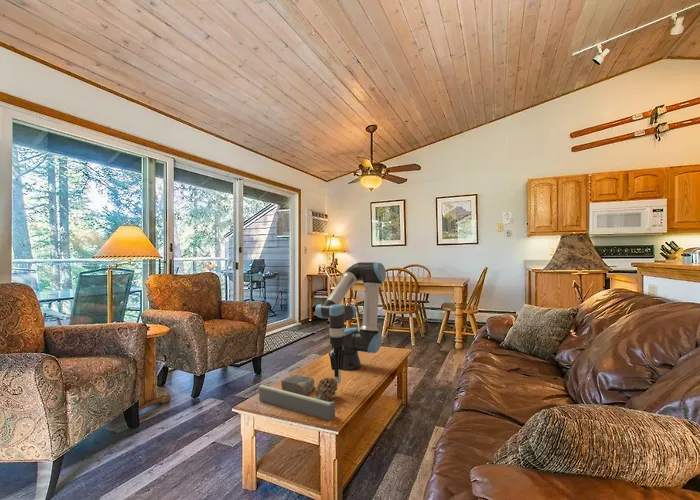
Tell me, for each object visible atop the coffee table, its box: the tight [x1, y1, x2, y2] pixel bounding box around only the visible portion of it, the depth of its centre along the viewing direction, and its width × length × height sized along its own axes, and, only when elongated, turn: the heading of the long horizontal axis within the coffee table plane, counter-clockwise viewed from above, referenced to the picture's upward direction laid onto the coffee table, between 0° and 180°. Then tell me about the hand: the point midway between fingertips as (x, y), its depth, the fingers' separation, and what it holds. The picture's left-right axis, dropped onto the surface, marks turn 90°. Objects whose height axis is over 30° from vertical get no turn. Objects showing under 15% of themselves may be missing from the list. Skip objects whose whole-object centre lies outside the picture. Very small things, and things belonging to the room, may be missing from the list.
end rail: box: [258, 383, 336, 421], centre depth 148 cm, size 5×40×7 cm, turn 60°
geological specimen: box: [280, 374, 315, 396], centre depth 168 cm, size 11×6×15 cm
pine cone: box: [314, 377, 339, 402], centre depth 152 cm, size 22×10×10 cm, turn 155°
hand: (337, 382), depth 165 cm, fingers closed
